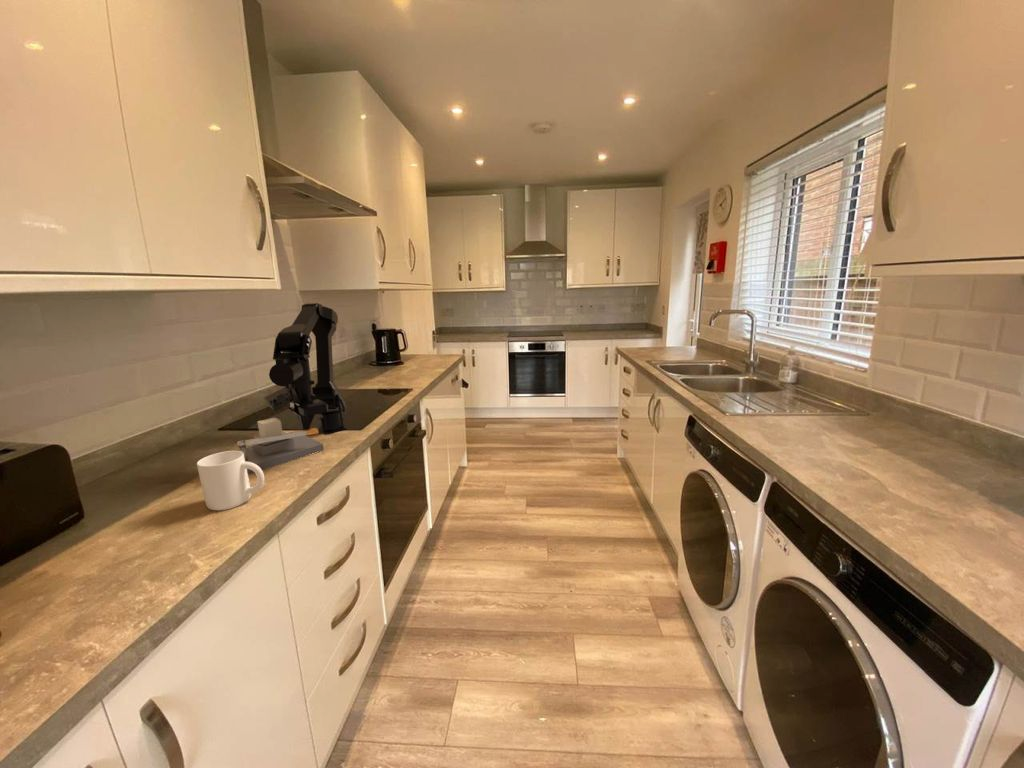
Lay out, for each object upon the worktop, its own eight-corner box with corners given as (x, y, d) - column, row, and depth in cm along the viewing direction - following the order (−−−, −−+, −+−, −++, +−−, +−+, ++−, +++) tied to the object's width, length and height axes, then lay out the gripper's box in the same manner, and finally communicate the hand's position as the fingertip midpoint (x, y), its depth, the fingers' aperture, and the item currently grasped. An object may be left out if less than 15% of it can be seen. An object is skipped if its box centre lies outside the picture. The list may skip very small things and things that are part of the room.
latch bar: (318, 431, 115) (317, 427, 114) (318, 433, 113) (317, 429, 113) (238, 445, 106) (237, 441, 106) (237, 448, 104) (236, 443, 104)
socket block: (302, 439, 126) (299, 421, 125) (323, 450, 116) (321, 431, 115) (226, 460, 112) (222, 440, 110) (244, 475, 102) (240, 454, 101)
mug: (276, 489, 94) (268, 448, 92) (258, 508, 86) (249, 463, 84) (220, 494, 93) (211, 452, 91) (197, 513, 85) (187, 467, 83)
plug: (282, 441, 119) (277, 415, 117) (291, 447, 114) (286, 420, 113) (256, 449, 114) (251, 421, 112) (264, 454, 110) (259, 426, 108)
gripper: (254, 377, 110) (262, 431, 114) (279, 388, 98) (288, 449, 102) (297, 370, 118) (303, 421, 122) (325, 380, 106) (332, 437, 110)
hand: (306, 431), depth 114 cm, fingers closed
